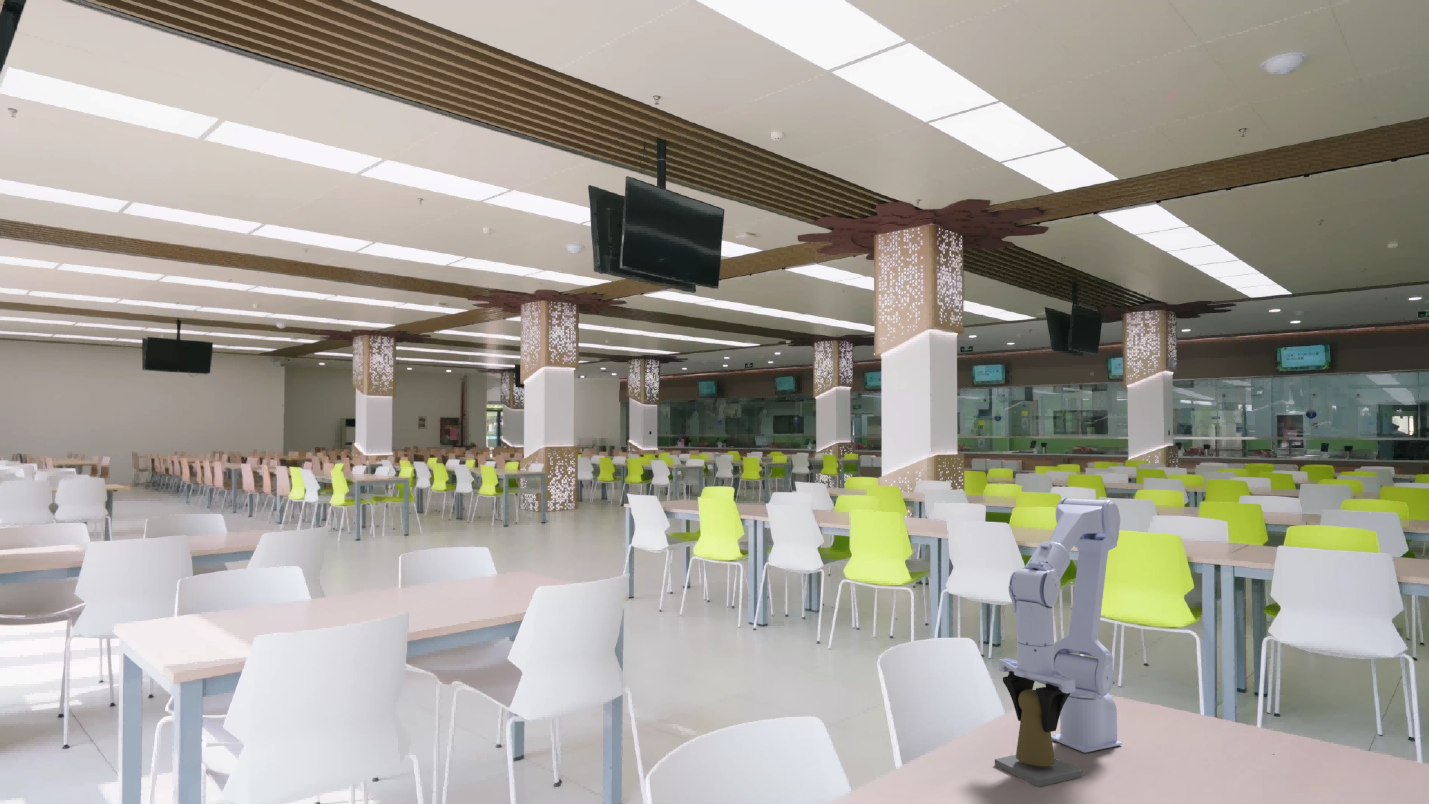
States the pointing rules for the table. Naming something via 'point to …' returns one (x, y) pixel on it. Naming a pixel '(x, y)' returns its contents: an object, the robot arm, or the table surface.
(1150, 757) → the table surface
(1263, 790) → the table surface
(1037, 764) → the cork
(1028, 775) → the mat
